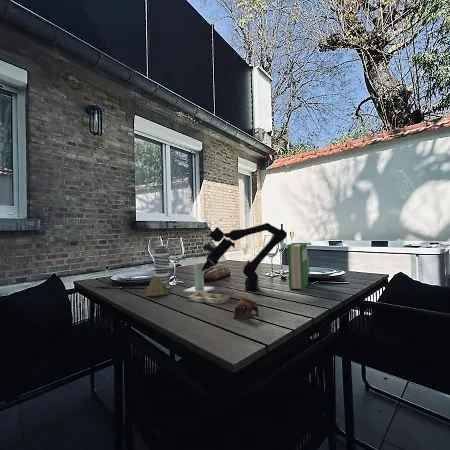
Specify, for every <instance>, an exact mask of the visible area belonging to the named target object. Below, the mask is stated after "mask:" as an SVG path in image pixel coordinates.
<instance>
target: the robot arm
mask: <svg viewBox="0 0 450 450" xmlns="http://www.w3.org/2000/svg"><path fill="white" fill-rule="evenodd" d="M265 231H267V232H268V233H270V234H272V235H271V237H270V240H269V241H268V242H267V243H266V245H264V246H263V247H262V249H261V250H260V251H259V252H258V254H257V255H256V256H254V258H252V259H251V260H249V259H248V260H247V261H246V263H244V264H243V266H242V272H243V275H244V276H245V277H246V278H245V281H244V284H245V285H244V286H245V289H244V290H245V291H250V292H257V291H259V290H260V289H261V288H260V287H259V286H260V285H259V275H258V274H257V272H256V270H257V268H258V267H259V265H260V263H262V261H263V260H264V259H265V258H266V257H267V256H268V255H269V254H270V252H272V250H273V249H274V248H275V247H276V246H277V245H278V244H280V243H281V242H283V241H284V240H286V238H287V232H286V230H285V229H282V228H280V229H279V228H278V227H276V226H273V225H272V224H270V222H265V223H263V224H262V223H261V224H259V225H255V226H252V227H247V228H243V229H242V228H241V229H232V230H231V231H230V232H225V233H224V232H223V231H222V230H221V228H219V227H218V226H217V227H215V228H214V229H213V230H212V231H211V232H210V234H208V237H210V238H211V239H212V240H213V241H214V242H215V243H219V244H217V245H216V246H213V245H212V244H211V243H205V242H204V245H203V248H202V249H203V250H204V251H207V252H209V253H208V254H207V256H206V261H205V262H204V263H203V268H202V271H203V272H205V271H206V270H208V269H210V268H213V267H215V266H217V264H219V260H221V258H222V257H223V255H225V254H226V252H227V251H229V250H230V248H231V247H233V248H236V246H235V245H236V242H233V241H238V240H240V239H242V238H245V237H246V236H250V235H254V234H257V233H261V232H265Z"/></svg>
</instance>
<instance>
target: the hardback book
mask: <svg viewBox="0 0 450 450" xmlns="http://www.w3.org/2000/svg"><path fill="white" fill-rule="evenodd" d="M307 244H308V243H307V242H293V243H289V244H288V245H287V255H288V257H287V259H288V261H287V262H288V286H289V287H288V289H290V290H289V291H291V290H293V289H295V290H297V289H298V290H301V291H302V290H304V291H305V289H306V288H305V287H307V286H308V285H309V280H308V271H307V253H308V247H307V246H308V245H307ZM307 284H308V285H307Z"/></svg>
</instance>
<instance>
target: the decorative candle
mask: <svg viewBox="0 0 450 450" xmlns="http://www.w3.org/2000/svg"><path fill="white" fill-rule="evenodd" d="M153 258H154V259H153V261H154V262H153V264H154V269H155V273H154V274H155V275H154V276H157V277H158V278H159V279H160V280H161V281H162V282H163V283H164V284H165V285H166V288H168V289H170V284H171V282H170V281H171V280H170V277H171V276H170V272H169V271H170V270H169V269H170V264H169V263H170V261H169V260H170V259H171V258H170V255H169V247H168V246H167V245H164V244H162V245H156V246H155V247H154V255H153Z"/></svg>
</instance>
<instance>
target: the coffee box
mask: <svg viewBox="0 0 450 450" xmlns="http://www.w3.org/2000/svg"><path fill="white" fill-rule="evenodd" d="M307 271H308V273H309V274H310V254H309V253H308V252H307Z"/></svg>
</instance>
